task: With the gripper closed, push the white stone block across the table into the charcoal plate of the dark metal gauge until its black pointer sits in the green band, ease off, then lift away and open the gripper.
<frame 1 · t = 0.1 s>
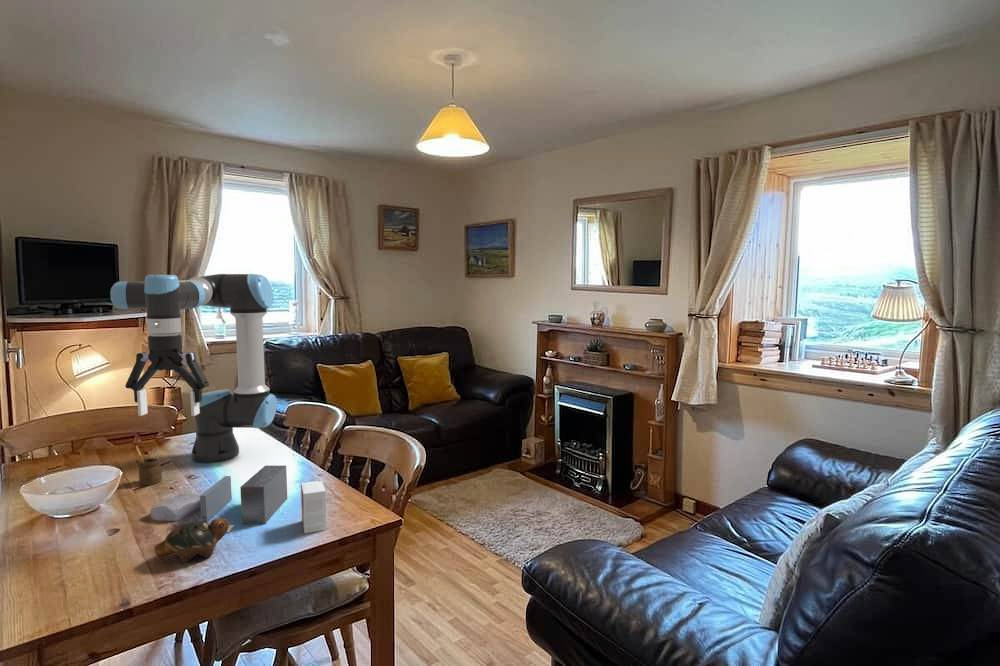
hand: (169, 414, 144), 28 cm above the table, tool pointing down, fingers open, 13 cm apart
gauge scale: (212, 529, 140), on the table
stone block: (178, 512, 150), on the table
utensil holder: (150, 483, 171), on the table
small box: (314, 526, 142), on the table
gauge plate: (212, 501, 147), point 4 cm above the table, slide at 0.0 cm
gauge housing: (265, 510, 151), on the table
decorative turtle: (193, 556, 127), on the table
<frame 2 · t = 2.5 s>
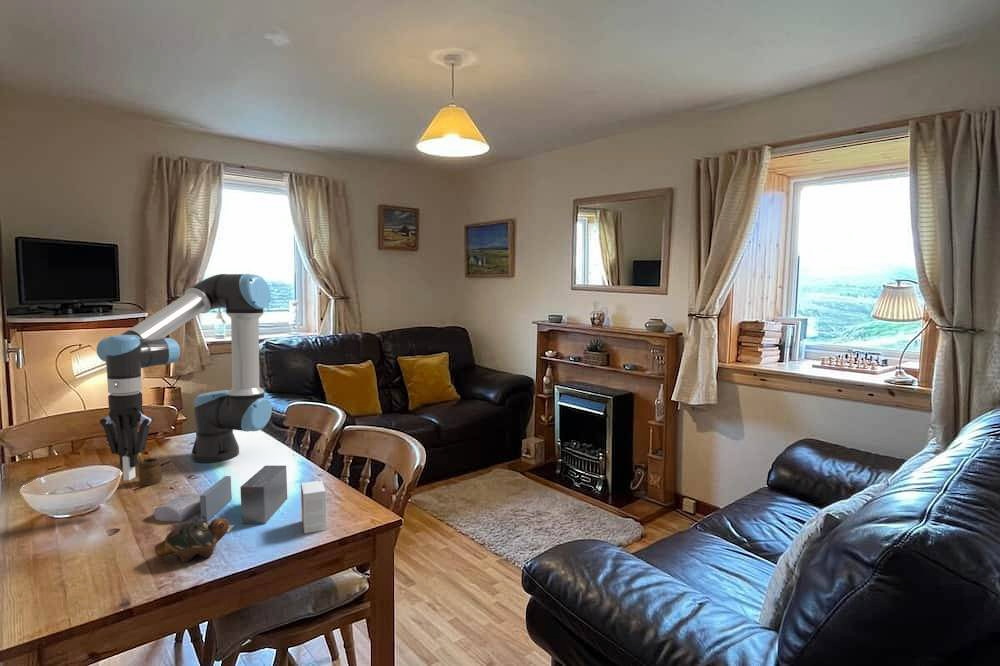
hand: (129, 478, 148), 9 cm above the table, tool pointing down, fingers closed
stone block: (181, 513, 150), on the table
everything else where it was.
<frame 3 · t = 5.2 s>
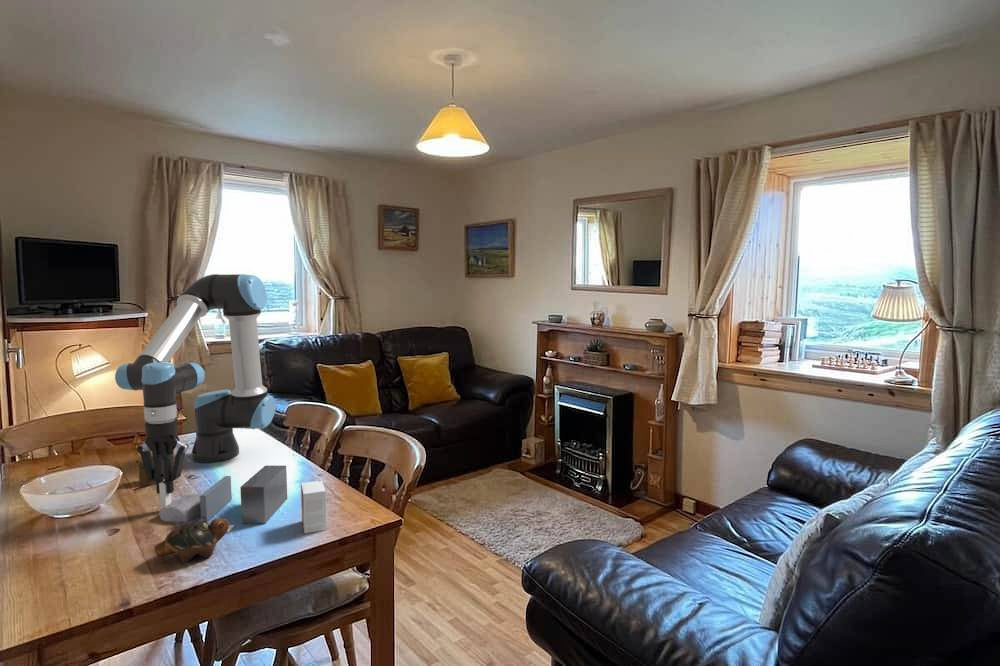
hand: (166, 504, 150), 2 cm above the table, tool pointing down, fingers closed
stone block: (186, 513, 150), on the table
everything else where it was.
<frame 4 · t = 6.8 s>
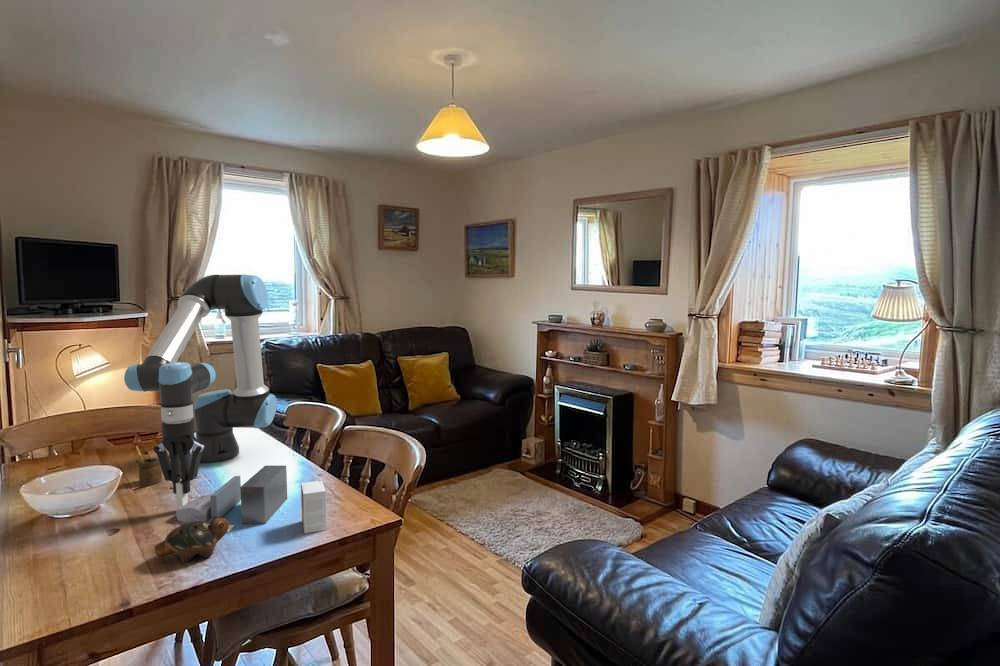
hand: (182, 504, 150), 2 cm above the table, tool pointing down, fingers closed
stone block: (202, 514, 149), on the table, touching gripper
gauge plate: (222, 501, 148), point 4 cm above the table, slide at 2.7 cm
everything else where it was.
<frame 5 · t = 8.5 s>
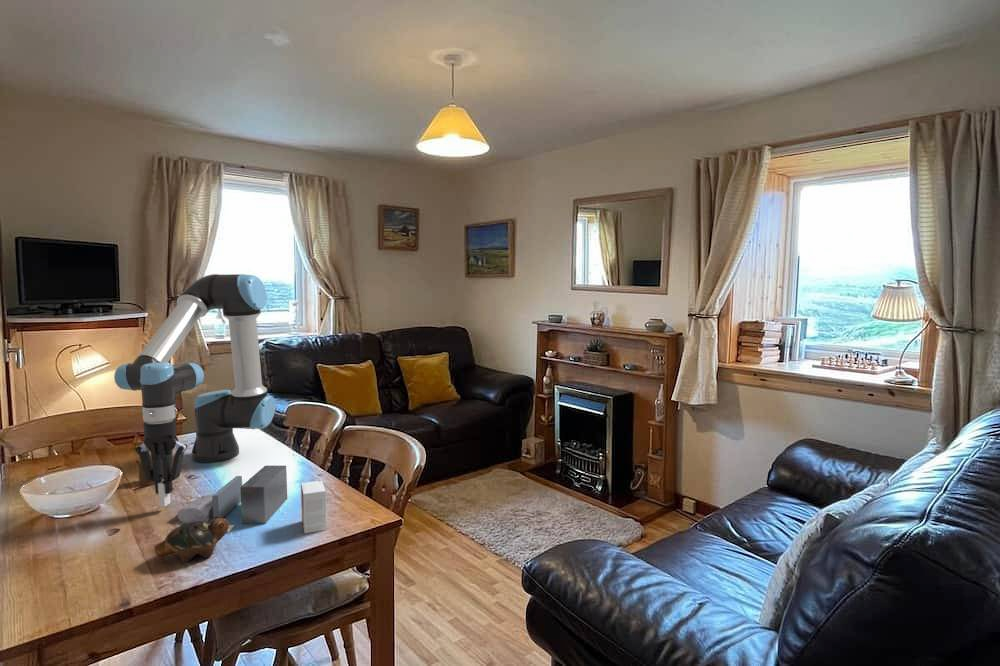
hand: (164, 504, 150), 2 cm above the table, tool pointing down, fingers closed
stone block: (204, 514, 149), on the table
gauge plate: (223, 501, 148), point 4 cm above the table, slide at 3.2 cm
everything else where it was.
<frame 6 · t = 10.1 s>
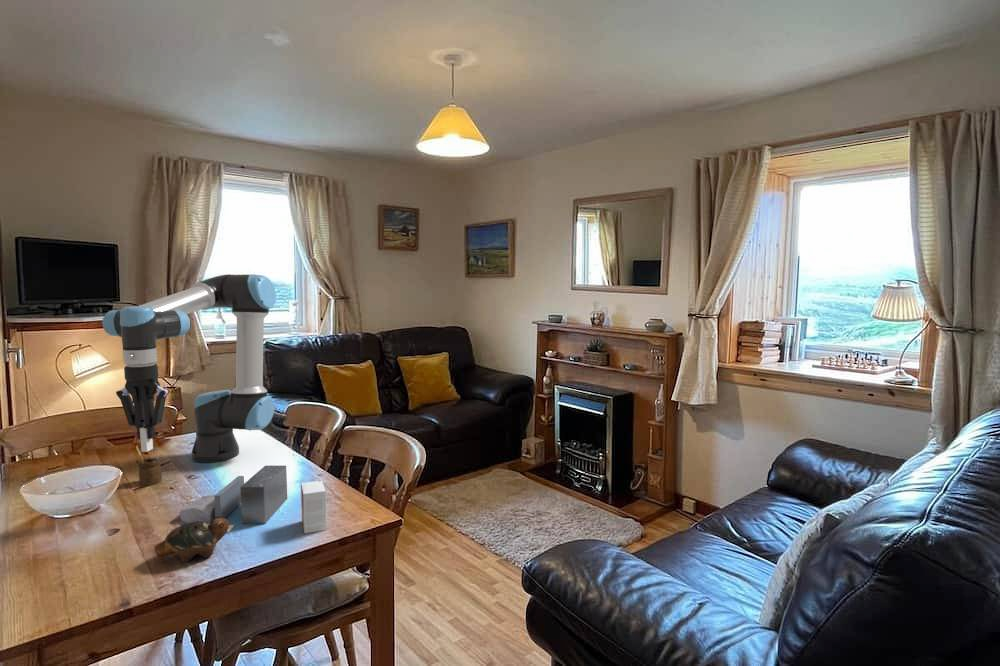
hand: (147, 450, 148), 17 cm above the table, tool pointing down, fingers closed
gauge plate: (225, 501, 148), point 4 cm above the table, slide at 3.7 cm
everything else where it was.
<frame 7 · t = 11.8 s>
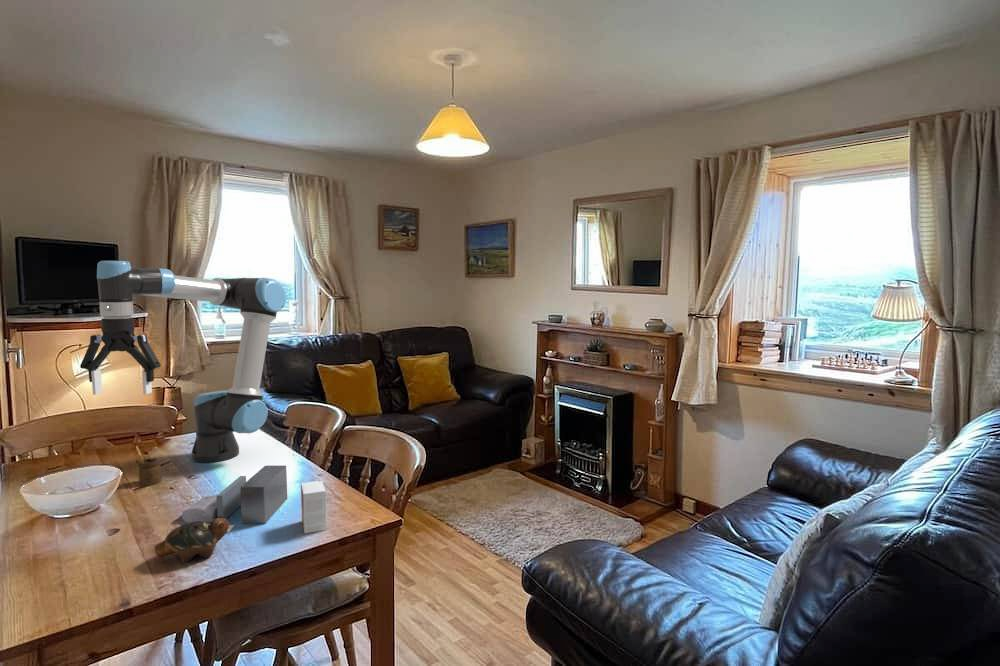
hand: (122, 393, 152), 32 cm above the table, tool pointing down, fingers open, 13 cm apart
gauge plate: (228, 501, 148), point 4 cm above the table, slide at 4.3 cm
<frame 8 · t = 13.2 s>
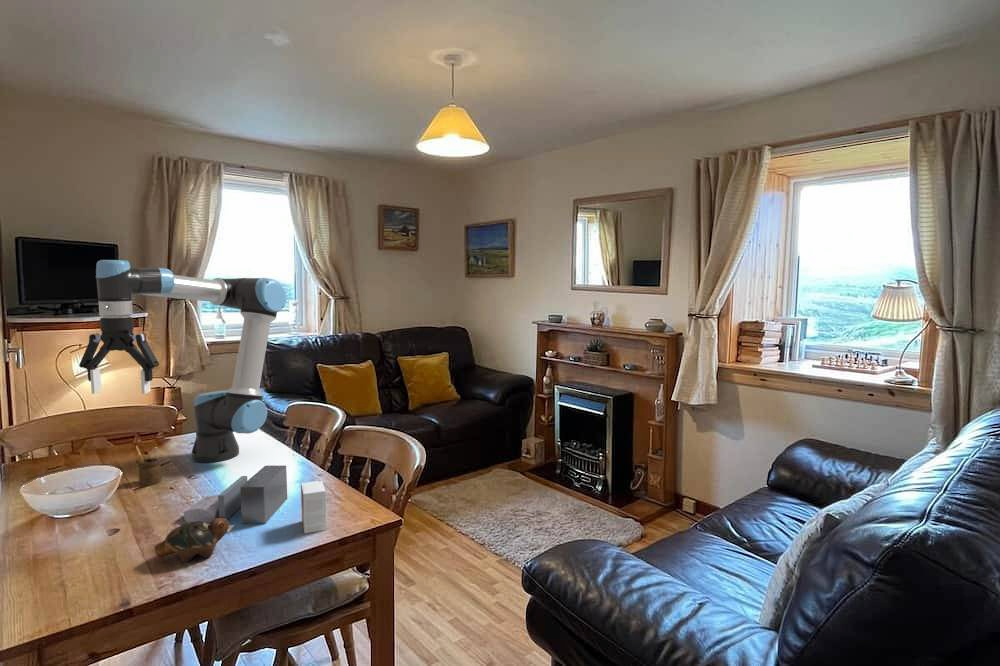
hand: (121, 392, 152), 32 cm above the table, tool pointing down, fingers open, 13 cm apart
gauge plate: (229, 501, 148), point 4 cm above the table, slide at 4.7 cm
at the end: gauge plate slide at 4.7 cm; stone block moved 9.5 cm from its start; the gripper is holding nothing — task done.
